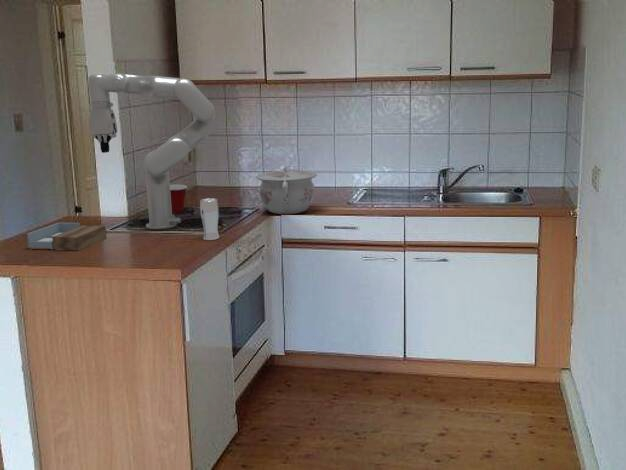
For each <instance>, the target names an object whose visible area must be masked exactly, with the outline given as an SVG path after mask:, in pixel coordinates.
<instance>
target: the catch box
mask: <svg viewBox="0 0 626 470" xmlns="http://www.w3.org/2000/svg"><path fill="white" fill-rule="evenodd" d="M80 226H81V223H80V222H56V223H53V224H50V225H48V226H45V227H42V228H39V229H36V230H33V231H31V232H28V233H26V237H27V244H28V248H29V247H31V248H49V249H53V248H54V247H53V241H52V242H41V241H38V240H41V239H44V238H52V235H54V234H57V233H64V232H67V231H69V230H72V229H75V228H77V227H80Z"/></svg>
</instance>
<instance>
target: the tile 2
mask: <svg viewBox="0 0 626 470" xmlns="http://www.w3.org/2000/svg"><path fill="white" fill-rule="evenodd" d="M38 241H41V242H52V241H53V239H52V238H44V239H41V240H38Z"/></svg>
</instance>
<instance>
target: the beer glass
mask: <svg viewBox="0 0 626 470" xmlns="http://www.w3.org/2000/svg"><path fill="white" fill-rule="evenodd" d="M199 203H200V204H199V214H200V219H201V223H202V227H203V237H202V239H203V240H205V241H214V240H215V241H216V240H219V239H220V235H219V231H218V229H219V228H218V225H219V216H220V215H219V214H220V210H219V203H218V198H213V197H212V198H211V197H210V198H203V199H202V198H201V199H200V200H199Z"/></svg>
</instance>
